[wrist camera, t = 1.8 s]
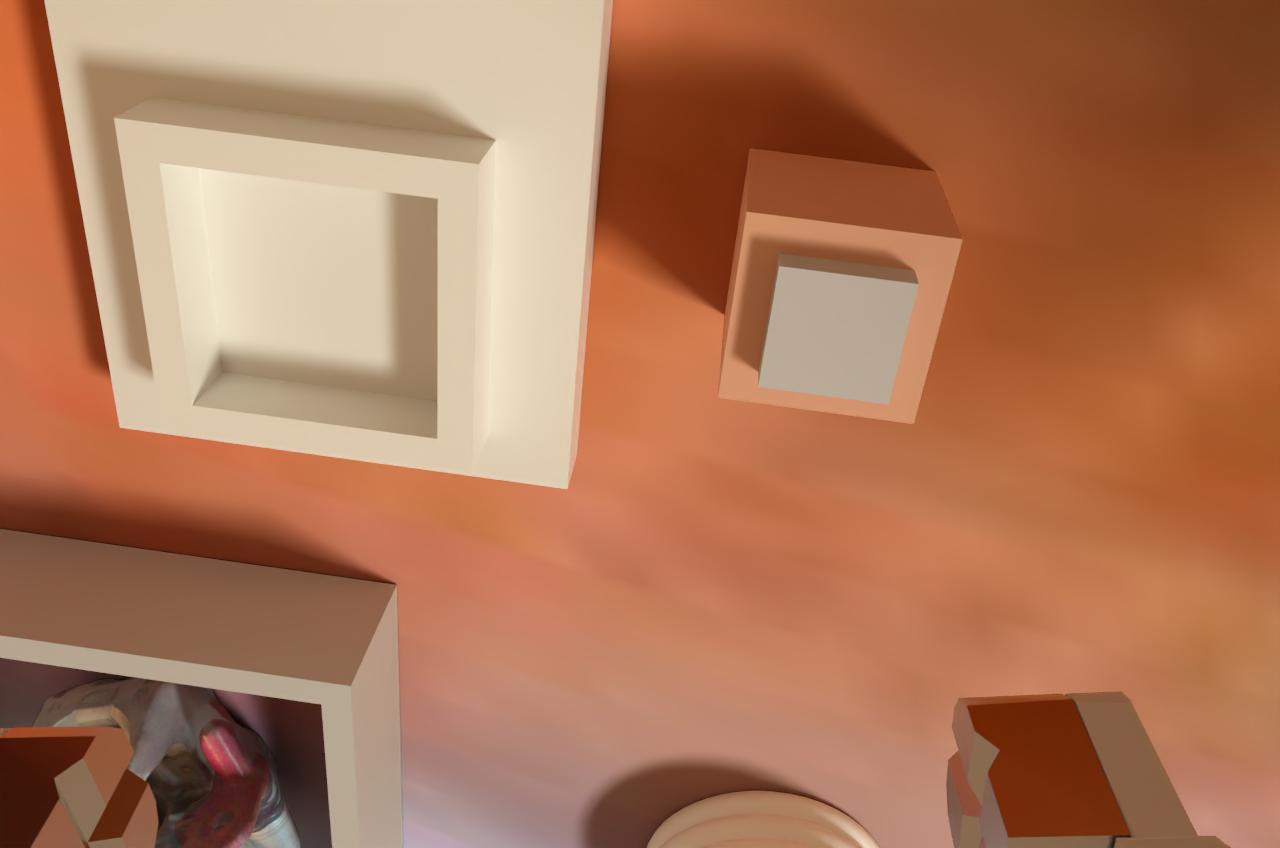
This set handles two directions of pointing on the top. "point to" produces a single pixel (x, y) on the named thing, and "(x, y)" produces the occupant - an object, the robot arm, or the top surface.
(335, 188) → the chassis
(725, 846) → the coaster
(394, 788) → the tray
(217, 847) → the brake caliper
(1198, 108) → the top surface
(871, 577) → the top surface
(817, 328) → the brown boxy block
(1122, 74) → the top surface
